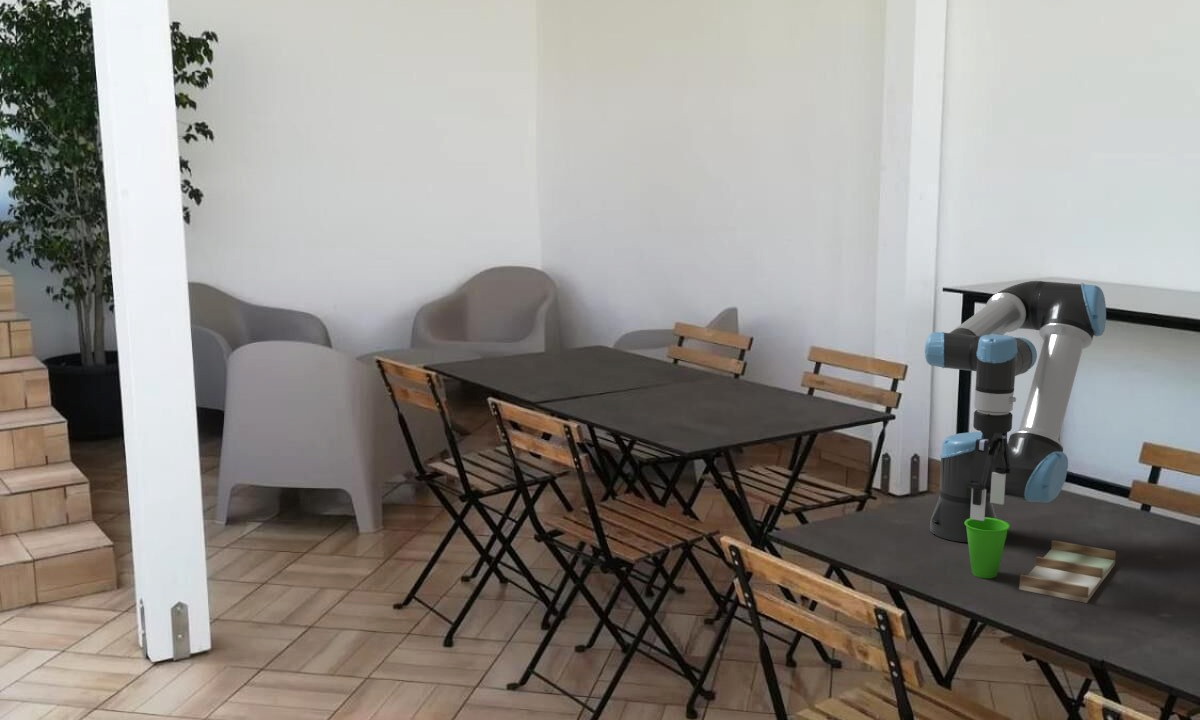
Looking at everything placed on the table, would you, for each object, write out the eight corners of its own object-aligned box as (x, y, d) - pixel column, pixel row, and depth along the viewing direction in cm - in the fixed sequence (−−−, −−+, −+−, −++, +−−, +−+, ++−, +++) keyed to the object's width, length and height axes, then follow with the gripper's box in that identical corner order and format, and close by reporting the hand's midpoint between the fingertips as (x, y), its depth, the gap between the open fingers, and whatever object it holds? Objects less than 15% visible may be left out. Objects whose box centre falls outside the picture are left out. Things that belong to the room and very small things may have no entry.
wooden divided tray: (1019, 589, 244) (1020, 575, 243) (1051, 553, 264) (1052, 540, 264) (1086, 602, 236) (1087, 588, 236) (1114, 564, 257) (1115, 551, 257)
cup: (1001, 566, 256) (1004, 517, 254) (1011, 582, 247) (1014, 531, 245) (958, 565, 257) (960, 516, 255) (966, 581, 248) (969, 530, 246)
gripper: (993, 424, 233) (987, 529, 237) (1028, 402, 254) (1022, 499, 257) (955, 419, 238) (949, 523, 241) (992, 398, 258) (987, 494, 262)
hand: (987, 511), depth 249 cm, fingers open, 13 cm apart
